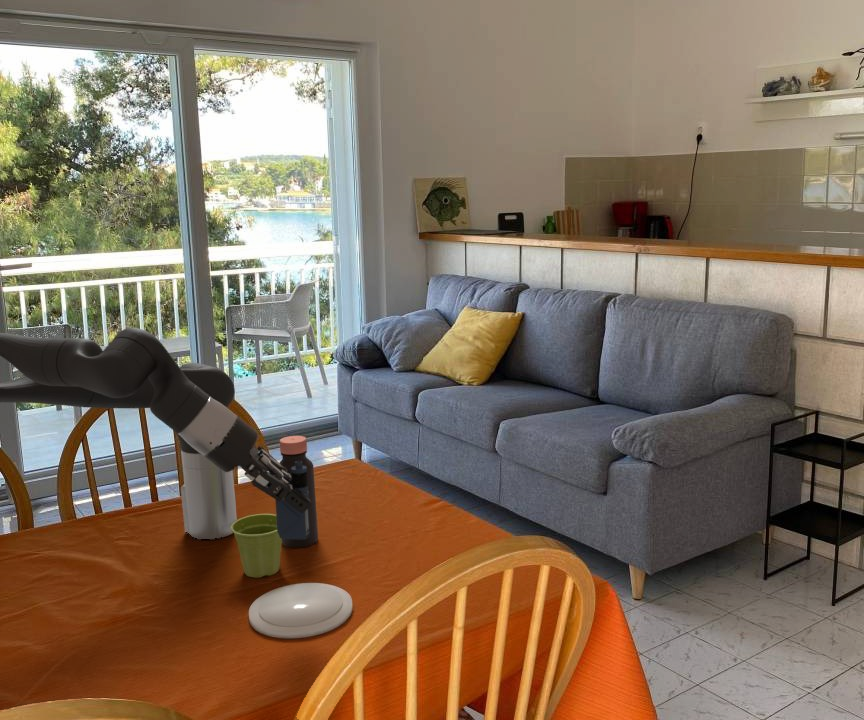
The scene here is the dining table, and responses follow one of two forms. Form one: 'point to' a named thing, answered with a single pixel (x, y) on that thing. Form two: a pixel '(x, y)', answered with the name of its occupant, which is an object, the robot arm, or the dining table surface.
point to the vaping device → (288, 517)
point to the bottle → (296, 451)
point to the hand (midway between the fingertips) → (305, 502)
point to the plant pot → (258, 544)
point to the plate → (300, 610)
